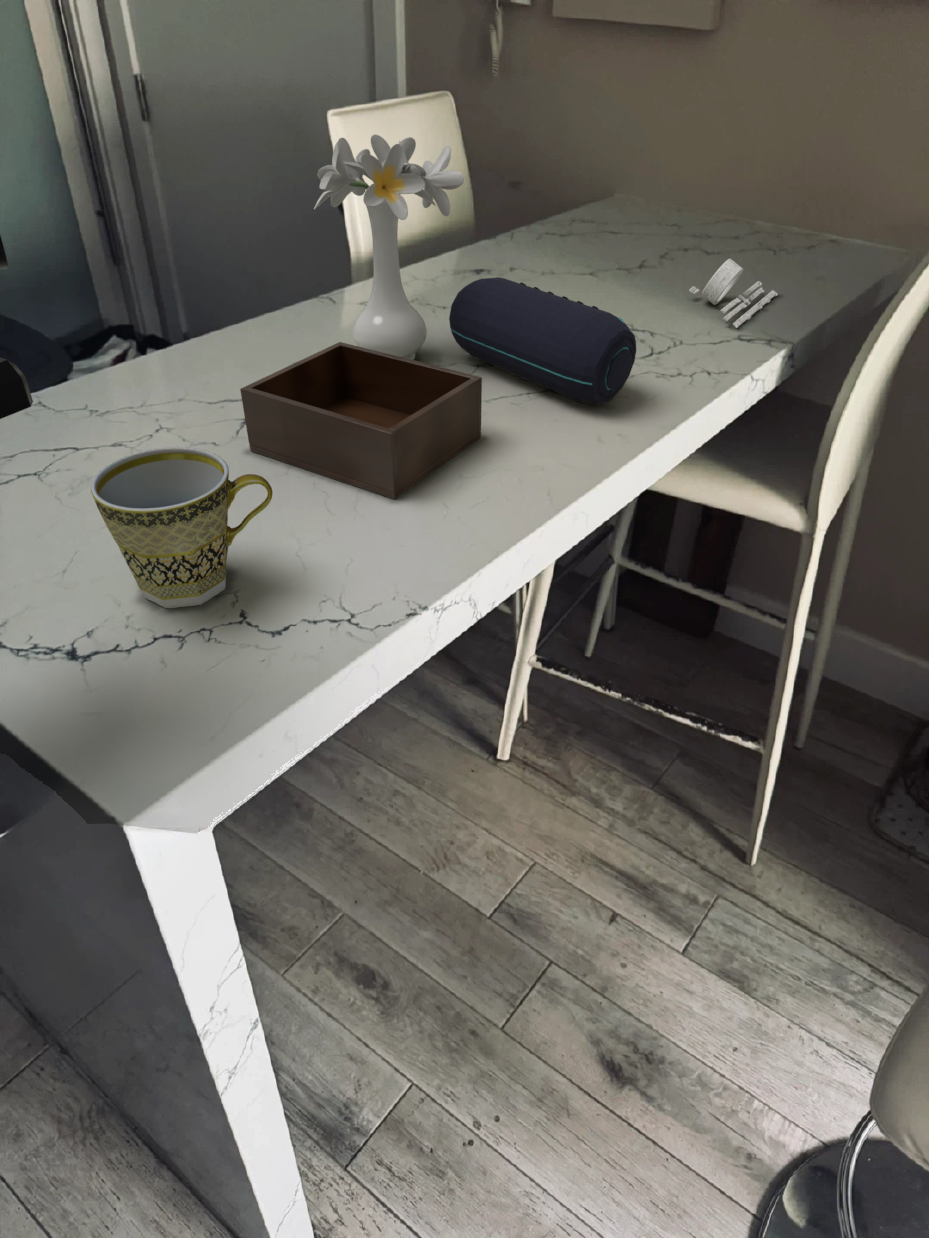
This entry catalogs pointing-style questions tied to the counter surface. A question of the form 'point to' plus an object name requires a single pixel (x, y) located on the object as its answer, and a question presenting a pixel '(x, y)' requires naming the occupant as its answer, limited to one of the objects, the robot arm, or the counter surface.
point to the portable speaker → (544, 338)
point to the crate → (364, 417)
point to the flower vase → (388, 231)
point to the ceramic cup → (173, 520)
